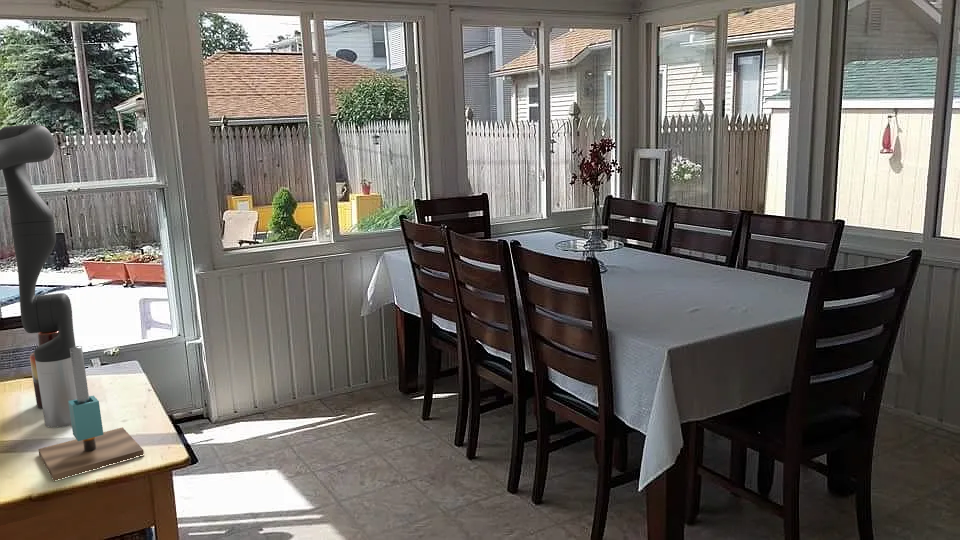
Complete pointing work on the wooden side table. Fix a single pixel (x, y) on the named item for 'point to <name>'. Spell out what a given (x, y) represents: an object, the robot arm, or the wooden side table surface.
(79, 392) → the pipe
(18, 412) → the wooden side table surface
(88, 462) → the stand board
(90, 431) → the sleeve
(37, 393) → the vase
